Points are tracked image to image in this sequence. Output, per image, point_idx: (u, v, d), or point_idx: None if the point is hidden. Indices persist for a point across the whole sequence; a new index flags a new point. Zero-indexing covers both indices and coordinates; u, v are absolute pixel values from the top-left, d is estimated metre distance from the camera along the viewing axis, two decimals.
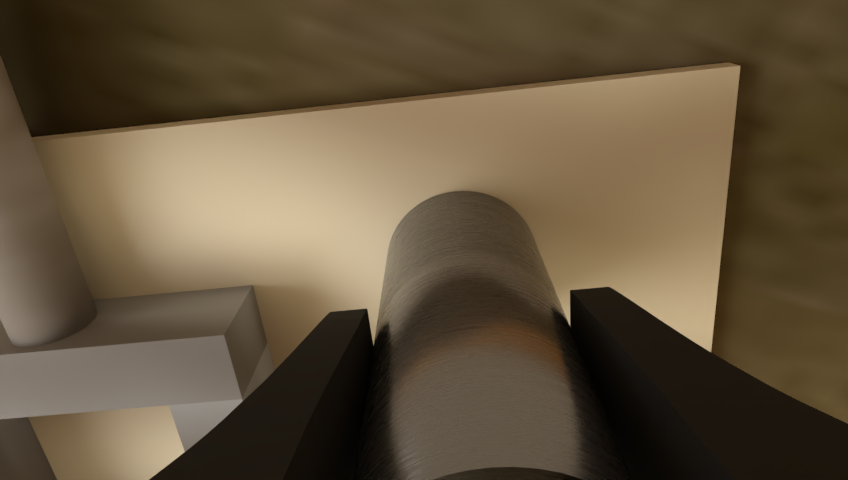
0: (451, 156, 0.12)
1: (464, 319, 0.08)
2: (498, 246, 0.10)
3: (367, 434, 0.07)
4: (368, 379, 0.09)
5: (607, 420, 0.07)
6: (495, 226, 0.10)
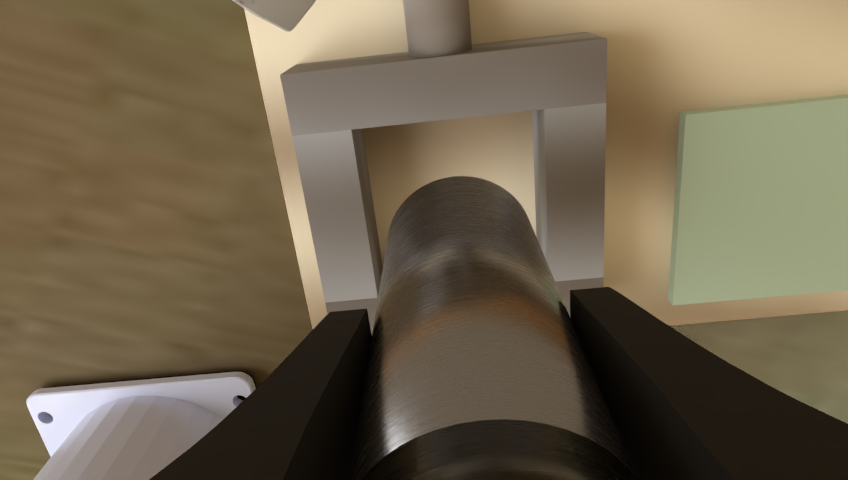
0: None
1: (473, 290, 0.08)
2: (504, 230, 0.10)
3: (375, 388, 0.07)
4: (371, 343, 0.09)
5: None
6: (500, 212, 0.11)
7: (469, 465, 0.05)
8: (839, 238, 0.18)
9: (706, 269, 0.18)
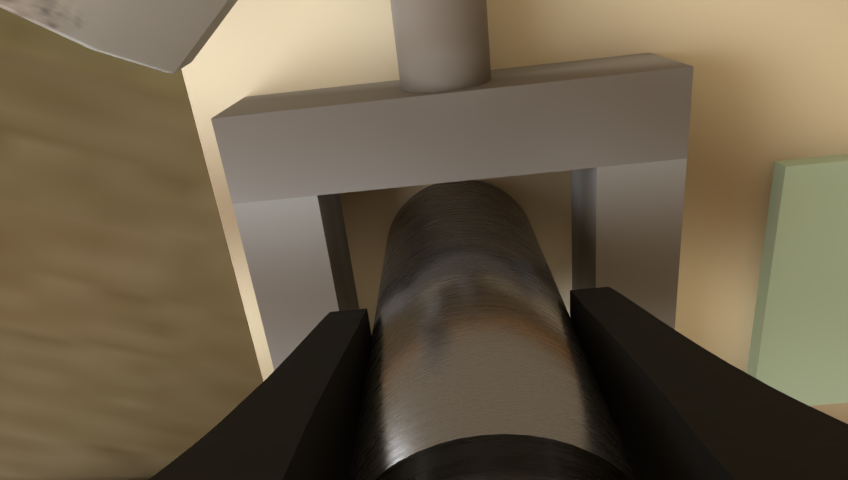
0: None
1: (475, 298, 0.08)
2: (505, 234, 0.10)
3: (373, 399, 0.07)
4: (370, 350, 0.09)
5: (607, 406, 0.07)
6: (501, 216, 0.11)
7: None
8: None
9: (799, 366, 0.14)
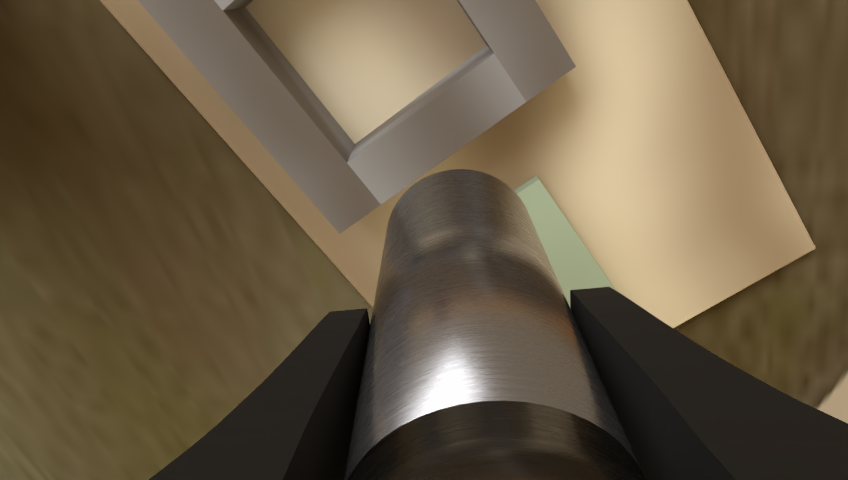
0: (708, 134, 0.18)
1: (474, 278, 0.08)
2: (504, 220, 0.10)
3: (373, 373, 0.07)
4: (369, 330, 0.09)
5: None
6: (500, 203, 0.11)
7: (470, 444, 0.05)
8: None
9: None
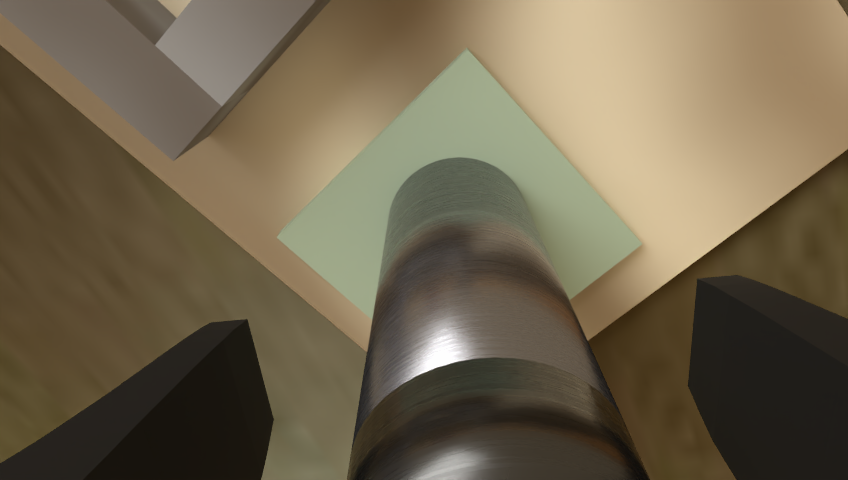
0: None
1: (468, 254, 0.08)
2: (498, 203, 0.11)
3: (378, 343, 0.08)
4: (374, 308, 0.09)
5: (590, 347, 0.08)
6: (494, 188, 0.11)
7: (464, 394, 0.06)
8: None
9: (340, 232, 0.14)
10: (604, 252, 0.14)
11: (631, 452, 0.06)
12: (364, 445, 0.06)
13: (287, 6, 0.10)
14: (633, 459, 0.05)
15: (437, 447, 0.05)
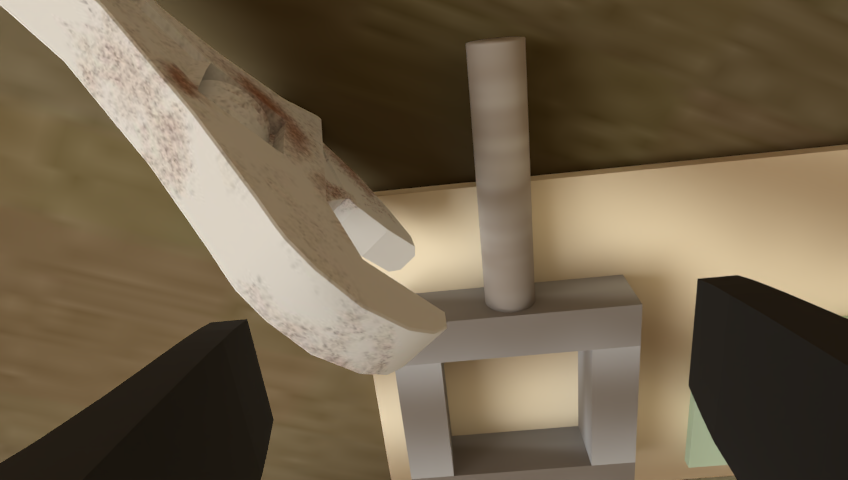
0: (771, 192, 0.19)
1: None
2: None
3: None
4: None
5: None
6: None
7: None
8: None
9: None
10: None
11: None
12: None
13: (629, 413, 0.20)
14: None
15: None
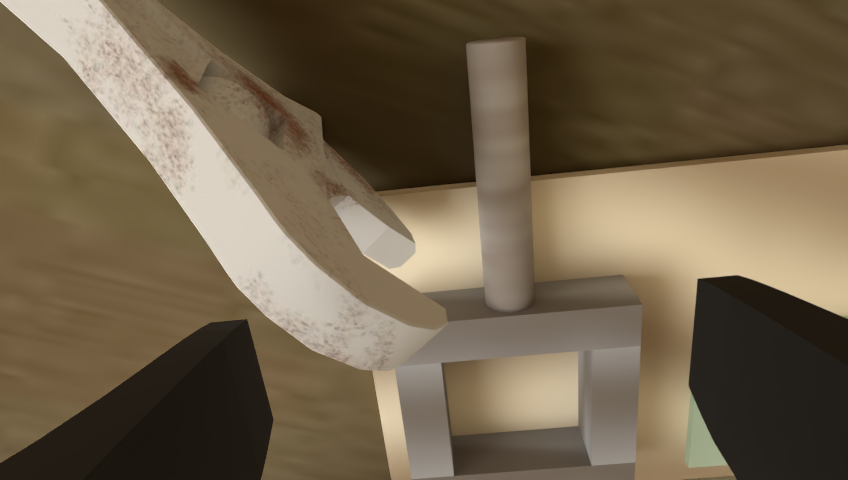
0: (772, 192, 0.19)
1: None
2: None
3: None
4: None
5: None
6: None
7: None
8: None
9: None
10: None
11: None
12: None
13: (629, 413, 0.20)
14: None
15: None
